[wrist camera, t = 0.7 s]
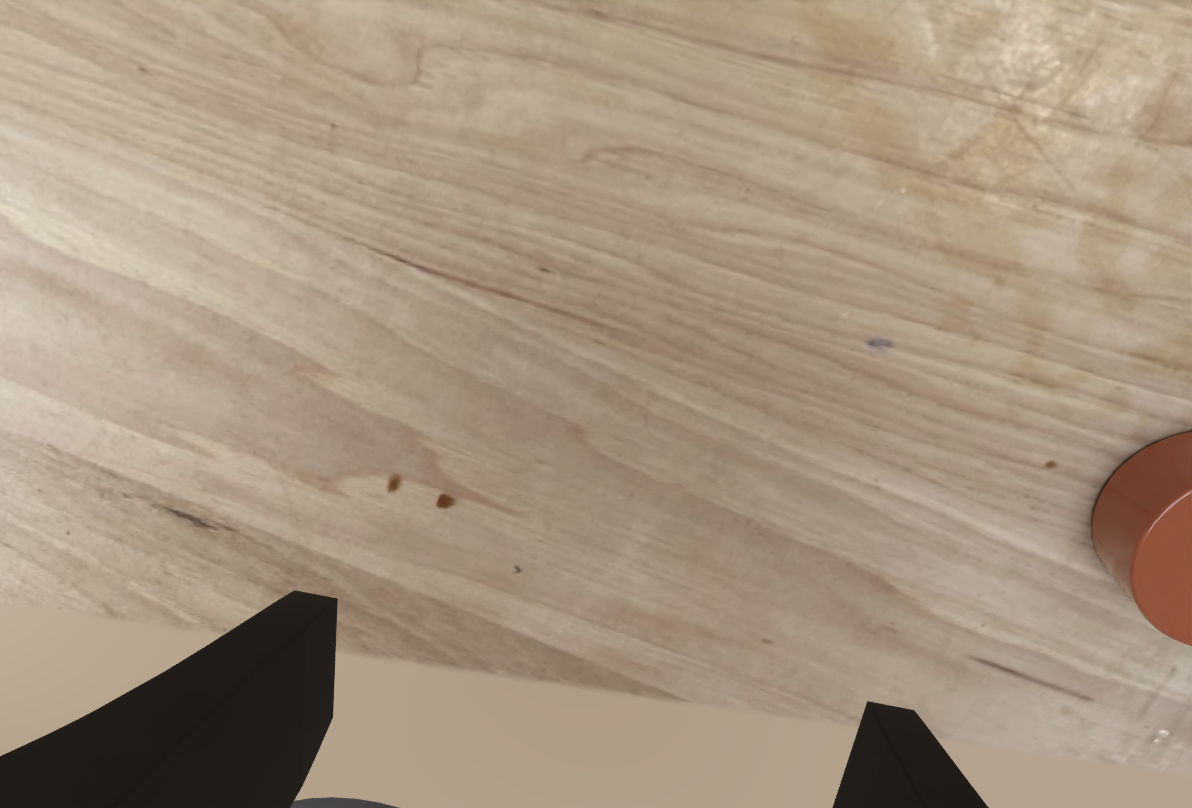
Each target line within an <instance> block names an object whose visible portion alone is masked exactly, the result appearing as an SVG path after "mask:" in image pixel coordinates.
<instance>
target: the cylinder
mask: <svg viewBox="0 0 1192 808" xmlns="http://www.w3.org/2000/svg"><path fill="white" fill-rule="evenodd" d="M1092 535H1093V542H1094V546H1095V549H1096V552H1097V555H1098V557H1099V559H1100V561H1101V563H1102V564H1103V565H1104V567H1105V568H1106V569H1107V571H1108V572H1109V573H1110V575H1111V576H1112V577H1113V578H1114V580H1115V581H1116V582H1117V583H1118V585H1119V586H1120V587H1121V588H1122V590H1123V591H1124V592H1125V593H1126V595H1127V596H1128V597H1129V598H1130V600H1131V601H1132V602H1133V603H1134V605H1135V606H1136V607H1137V608H1138V610H1139V611H1140V612H1141V613H1142V615H1143V616H1144V617H1145V618H1146V619H1147V620H1148V621H1149V622H1150V623H1151V624H1152V625H1153V626H1154V627H1155V628H1156V629H1158V630H1159V631H1161V632H1162V633H1163V634H1165V635H1167V636H1169V637H1171V638H1172V639H1174V640H1177V641H1179V642H1182V643H1185V644H1187V645H1190V646H1192V432H1187V433H1182V434H1178V435H1175V436H1172V437H1169V438H1165V439H1163V440H1161V441H1159V442H1156V443H1154V444H1152V445H1150V446H1148V447H1147V448H1145V449H1143V450H1141V451H1140V452H1138V453H1137V454H1136V455H1134V456H1133V457H1131V458H1130V459H1129V460H1128V461H1126V462H1125V463H1124V464H1123V465H1122V466H1121V467H1120V468H1119V469H1118V470H1117V471H1116V472H1115V473H1114V475H1113V476H1112V477H1111V478H1110V479H1109V481H1108V482H1107V484H1106V485H1105V487H1104V488H1103V490H1102V492H1101V494H1100V496H1099V498H1098V501H1097V504H1096V507H1095V510H1094V515H1093V521H1092Z"/></svg>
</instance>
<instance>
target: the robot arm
mask: <svg viewBox="0 0 1192 808" xmlns="http://www.w3.org/2000/svg"><path fill="white" fill-rule="evenodd" d="M337 600H338V599H337V598H332V597H326V596H321V595H316V594H311V593H306V592H301V591H295V590H294V591H293V592H291V593H289V594H288V595H286V596H284V597H283V598H281V599H279V600H278V601H276V602H275V603H273V604H272V605H270V606H268V607H267V608H265V609H264V610H262V611H261V612H259V613H257V614H256V615H254V616H253V617H251V618H250V619H248V620H246V621H245V622H243V623H242V624H240V625H239V626H237V627H236V628H234V629H232V630H231V631H229V632H228V633H226V634H225V635H223V636H221V637H220V638H218V639H217V640H215V641H214V642H212V643H210V644H209V645H207V646H206V647H204V648H202V649H201V650H199V651H197V652H196V653H194V654H193V655H191V656H189V657H188V658H186V659H184V660H183V661H181V662H179V663H178V664H176V665H175V666H173V667H171V668H170V669H168V670H167V671H165V672H163V673H161V674H160V675H158V676H156V677H154V678H152V679H150V680H149V681H147V682H145V683H143V684H142V685H140V686H138V687H136V688H134V689H133V690H131V691H129V692H127V693H126V694H124V695H122V696H120V697H118V698H116V699H115V700H113V701H112V702H109V703H108V704H106V705H104V706H102V707H100V708H99V709H97V710H95V711H93V712H91V713H89V714H87V715H85V716H84V717H82V718H80V719H78V720H76V721H74V722H72V723H70V724H68V725H66V726H64V727H62V728H60V729H58V730H56V731H54V732H52V733H50V734H47V735H45V736H43V737H41V738H39V739H37V740H35V741H32V742H30V743H28V744H26V745H24V746H22V747H20V748H17V749H15V750H13V751H11V752H9V753H6V754H4V755H2V756H0V808H290V806H291V805H292V803H293V801H294V800H295V798H296V796H297V794H298V793H299V791H300V789H301V787H302V786H303V783H304V781H305V779H306V777H307V775H308V773H309V770H310V768H311V766H312V764H313V761H314V760H315V757H316V755H317V753H318V751H319V748H320V746H321V744H322V741H323V739H324V737H325V734H326V732H327V730H328V727H329V725H330V723H331V720H332V718H333V701H334V676H335V651H336V625H337ZM833 808H988V806H987V805H986V804H985V802H984V801H983V800H982V799H981V797H980V796H979V795H978V793H977V792H976V791H975V789H974V788H973V787H972V786H971V784H970V783H969V782H968V780H967V779H966V778H965V776H964V775H963V774H962V773H961V771H960V770H959V768H958V767H957V766H956V764H955V763H954V762H953V760H952V759H951V758H950V756H949V755H948V754H947V753H946V751H945V750H944V749H943V747H942V746H941V745H940V743H939V742H938V741H937V739H936V738H935V737H934V735H933V734H932V733H931V731H930V730H929V729H928V727H927V726H926V725H925V723H924V722H923V721H922V720H921V718H920V717H919V716H918V715H917V713H916V712H915V711H914V710H910V709H905V708H900V707H894V706H889V705H884V704H879V703H874V702H869V701H867V704H866V707H865V710H864V713H863V716H862V719H861V723H860V726H859V729H858V732H857V735H856V738H855V741H854V744H853V747H852V750H851V753H850V756H849V759H848V762H847V766H846V768H845V772H844V775H843V777H842V780H841V784H840V787H839V790H838V793H837V796H836V799H835V802H834V805H833Z"/></svg>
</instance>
